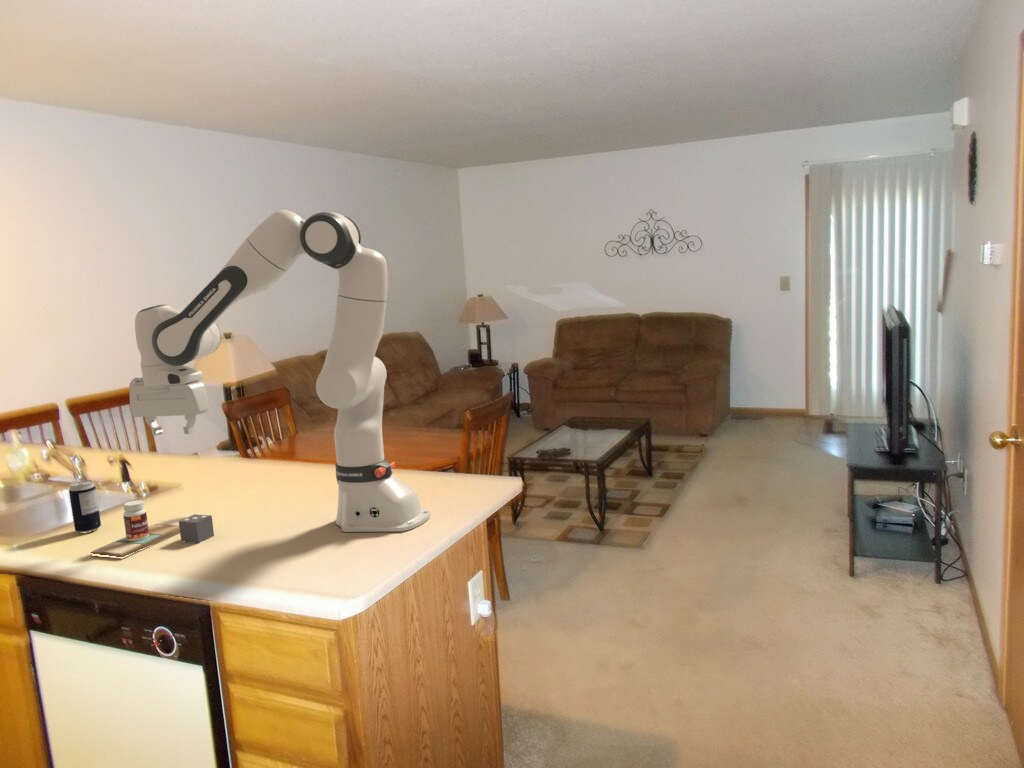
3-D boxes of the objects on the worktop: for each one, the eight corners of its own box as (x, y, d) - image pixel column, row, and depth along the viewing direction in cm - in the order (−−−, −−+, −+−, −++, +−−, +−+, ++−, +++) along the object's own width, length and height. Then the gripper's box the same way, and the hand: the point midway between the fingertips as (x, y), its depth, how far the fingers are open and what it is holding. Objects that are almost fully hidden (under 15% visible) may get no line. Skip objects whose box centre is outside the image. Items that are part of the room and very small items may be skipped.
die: (214, 536, 184) (211, 515, 183) (198, 543, 179) (196, 522, 178) (197, 534, 185) (194, 513, 185) (181, 542, 181) (178, 520, 180)
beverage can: (102, 525, 197) (96, 478, 195) (100, 532, 192) (92, 484, 190) (77, 529, 195) (70, 482, 193) (73, 536, 190) (66, 487, 188)
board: (200, 523, 194) (200, 518, 193) (122, 559, 171) (121, 553, 171) (172, 521, 197) (171, 516, 197) (91, 556, 175) (90, 550, 174)
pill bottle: (134, 543, 178) (129, 507, 177) (122, 540, 180) (117, 504, 179) (153, 536, 182) (149, 501, 180) (141, 533, 184) (137, 498, 183)
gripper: (118, 380, 184) (128, 438, 186) (188, 376, 177) (198, 436, 179) (139, 375, 190) (148, 432, 192) (208, 371, 183) (217, 430, 185)
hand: (173, 434), depth 185 cm, fingers open, 8 cm apart
